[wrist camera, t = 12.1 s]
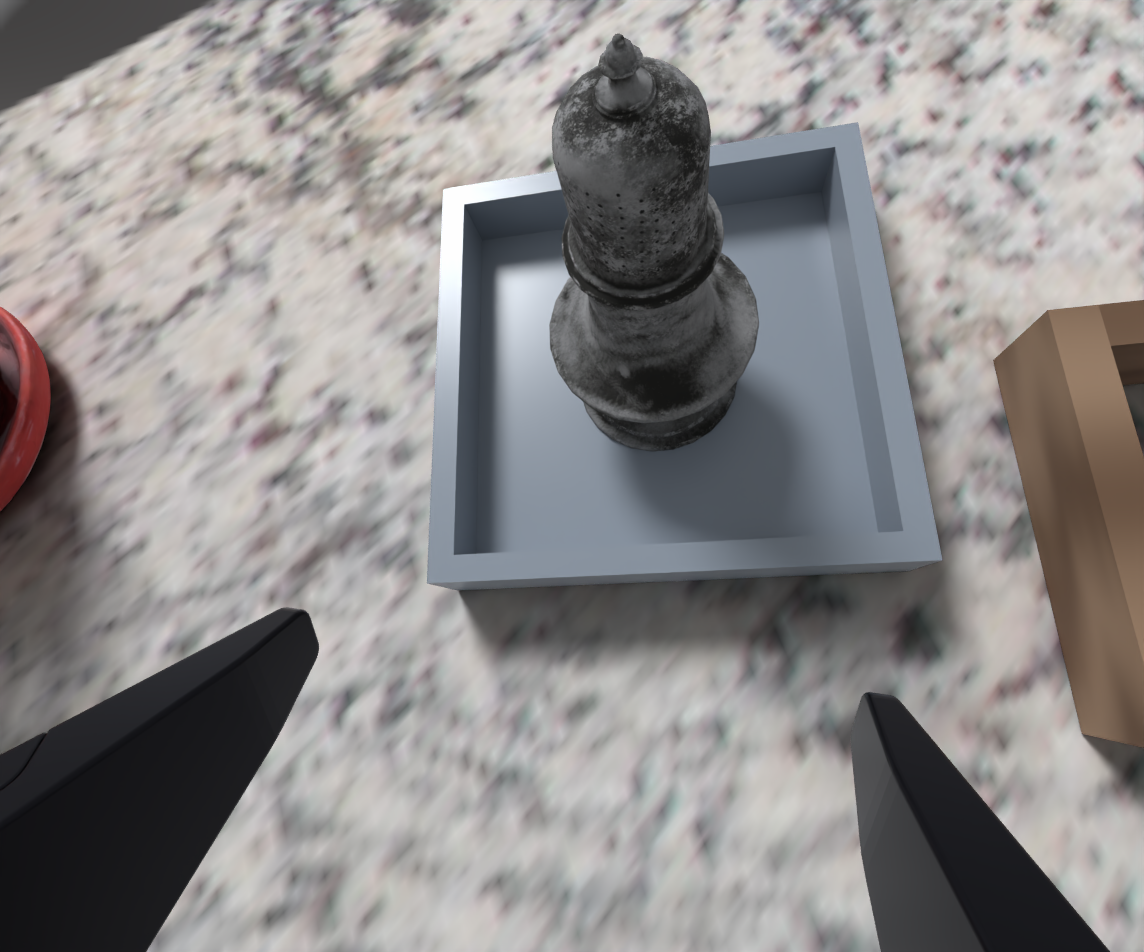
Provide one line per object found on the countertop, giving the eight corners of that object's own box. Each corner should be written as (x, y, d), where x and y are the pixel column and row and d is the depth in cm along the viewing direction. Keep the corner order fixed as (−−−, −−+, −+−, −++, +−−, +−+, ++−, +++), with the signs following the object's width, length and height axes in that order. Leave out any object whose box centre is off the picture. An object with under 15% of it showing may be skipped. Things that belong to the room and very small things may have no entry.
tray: (908, 571, 18) (942, 559, 15) (457, 590, 20) (427, 583, 18) (839, 179, 22) (858, 122, 19) (467, 234, 24) (443, 189, 22)
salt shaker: (664, 269, 21) (637, -161, 10) (785, 378, 19) (925, 4, 8) (537, 375, 21) (362, 61, 10) (648, 496, 19) (592, 283, 8)
